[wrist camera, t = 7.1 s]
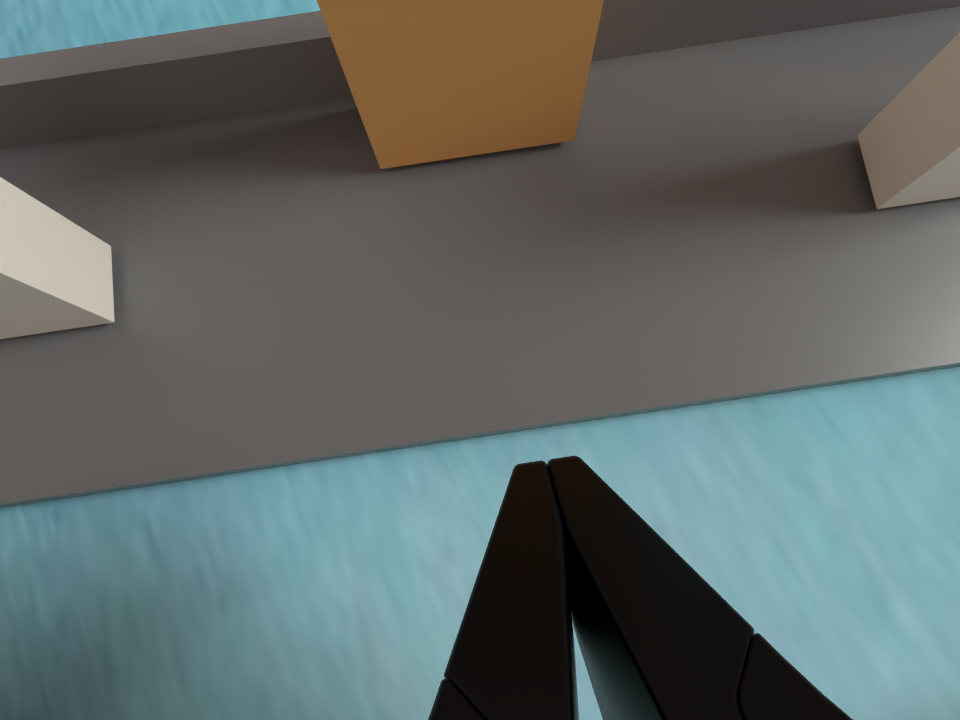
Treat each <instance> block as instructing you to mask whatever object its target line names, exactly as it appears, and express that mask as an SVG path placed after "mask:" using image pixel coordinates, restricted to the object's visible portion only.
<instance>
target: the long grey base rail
mask: <svg viewBox="0 0 960 720" xmlns="http://www.w3.org/2000/svg"><path fill="white" fill-rule="evenodd" d="M959 32H960V0H604V2H603V7H602V11H601V16H600V21H599V26H598V31H597V36H596V40H595V45H594V50H593V55H592V60H591V64H590V69H589V74H588V79H587V84H586V89H585V93H584V98H583V103H582V108H581V113H580V117H579V122H578V127H577V132H576V137H575V140H573V141H566V142H560V143H553V144H546V145H539V146H533V147H526V148H519V149H513V150H506V151H499V152H492V153H486V154H479V155H472V156H466V157H459V158H452V159H446V160H439V161H432V162H425V163H419V164H412V165H405V166H399V167H392V168H385V169H380V166H379V164H378V161H377V158H376V156H375V153H374V151H373V148H372V145H371V143H370V140H369V137H368V135H367V132H366V129H365V127H364V124H363V121H362V119H361V116H360V114H359V111H358V108H357V106H356V103H355V100H354V98H353V95H352V92H351V90H350V87H349V84H348V82H347V79H346V77H345V74H344V71H343V69H342V66H341V63H340V61H339V58H338V55H337V53H336V50H335V47H334V45H333V42H332V40H331V37H330V34H329V32H328V29H327V26H326V24H325V21H324V18H323V16H322V13H321V11H316V12H310V13H303V14H296V15H290V16H283V17H276V18H270V19H263V20H256V21H250V22H243V23H236V24H230V25H223V26H216V27H210V28H203V29H196V30H190V31H183V32H176V33H170V34H163V35H156V36H150V37H143V38H136V39H130V40H123V41H116V42H110V43H103V44H96V45H90V46H83V47H76V48H70V49H63V50H56V51H50V52H43V53H36V54H30V55H23V56H16V57H10V58H3V59H0V177H1V178H3V179H4V180H6V181H8V182H9V183H11V184H12V185H14V186H16V187H17V188H19V189H20V190H22V191H24V192H25V193H27V194H28V195H30V196H32V197H33V198H35V199H36V200H38V201H40V202H41V203H43V204H44V205H46V206H48V207H49V208H51V209H52V210H54V211H56V212H57V213H59V214H60V215H62V216H64V217H65V218H67V219H68V220H70V221H72V222H73V223H75V224H76V225H78V226H80V227H81V228H83V229H84V230H86V231H88V232H89V233H91V234H92V235H94V236H96V237H97V238H99V239H100V240H102V241H104V242H105V243H107V244H108V245H110V246H111V256H112V277H113V299H114V321H115V322H114V323H107V324H100V325H93V326H87V327H80V328H73V329H66V330H60V331H53V332H46V333H40V334H33V335H26V336H19V337H13V338H6V339H0V507H7V506H14V505H21V504H28V503H34V502H41V501H48V500H55V499H61V498H68V497H75V496H82V495H89V494H95V493H102V492H109V491H116V490H123V489H129V488H136V487H143V486H150V485H156V484H163V483H170V482H177V481H184V480H190V479H197V478H204V477H211V476H217V475H224V474H231V473H238V472H245V471H251V470H258V469H265V468H272V467H278V466H285V465H292V464H299V463H306V462H312V461H319V460H326V459H333V458H340V457H346V456H353V455H360V454H367V453H373V452H380V451H387V450H394V449H401V448H407V447H414V446H421V445H428V444H434V443H441V442H448V441H455V440H462V439H468V438H475V437H482V436H489V435H495V434H502V433H509V432H516V431H523V430H529V429H536V428H543V427H550V426H557V425H563V424H570V423H577V422H584V421H590V420H597V419H604V418H611V417H618V416H624V415H631V414H638V413H645V412H651V411H658V410H665V409H672V408H679V407H685V406H692V405H699V404H706V403H712V402H719V401H726V400H733V399H740V398H746V397H753V396H760V395H767V394H774V393H780V392H787V391H794V390H801V389H807V388H814V387H821V386H828V385H835V384H841V383H848V382H855V381H862V380H868V379H875V378H882V377H889V376H896V375H902V374H909V373H916V372H923V371H929V370H936V369H943V368H950V367H957V366H960V197H956V198H949V199H942V200H935V201H929V202H922V203H915V204H908V205H902V206H895V207H888V208H882V209H877V208H876V204H875V200H874V197H873V193H872V189H871V185H870V182H869V178H868V174H867V170H866V167H865V163H864V159H863V156H862V152H861V148H860V144H859V141H858V137H857V135H858V134H859V133H860V132H861V131H862V130H863V129H864V128H865V127H866V126H867V125H868V124H869V123H870V122H871V121H872V120H873V119H874V118H875V117H876V116H877V115H878V114H879V113H880V112H881V111H882V110H883V109H884V108H885V107H886V106H887V105H888V104H889V103H890V102H891V101H892V100H893V99H894V98H895V97H896V96H897V95H898V94H899V93H900V92H901V91H902V90H903V89H904V88H905V87H906V86H907V85H908V84H909V83H910V82H911V81H912V80H913V79H914V78H915V77H916V76H917V75H918V74H919V73H920V72H921V71H922V70H923V69H924V68H925V67H926V66H927V65H928V64H929V63H930V62H931V61H932V60H933V59H934V58H935V57H936V56H937V55H938V54H939V53H940V52H941V51H942V50H943V49H944V48H945V47H946V46H947V45H948V43H949V42H950V41H951V40H952V39H953V38H954V37H955V36H956V35H957V34H958V33H959Z"/></svg>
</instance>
